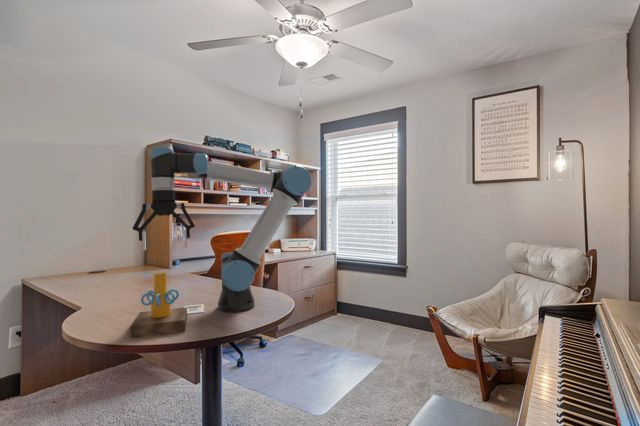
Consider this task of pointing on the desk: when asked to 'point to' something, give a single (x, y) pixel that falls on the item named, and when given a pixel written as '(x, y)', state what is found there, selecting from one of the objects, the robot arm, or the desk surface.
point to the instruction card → (195, 309)
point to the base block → (159, 323)
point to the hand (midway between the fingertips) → (165, 248)
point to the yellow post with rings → (160, 297)
